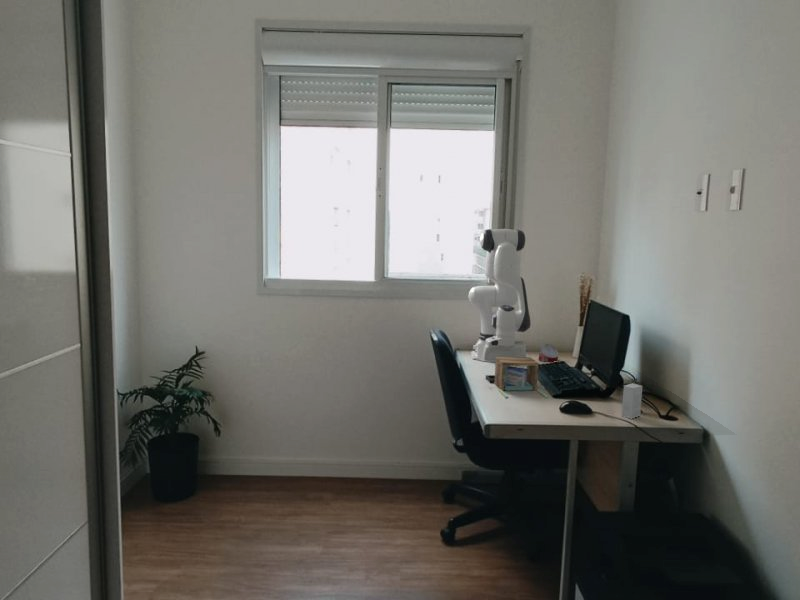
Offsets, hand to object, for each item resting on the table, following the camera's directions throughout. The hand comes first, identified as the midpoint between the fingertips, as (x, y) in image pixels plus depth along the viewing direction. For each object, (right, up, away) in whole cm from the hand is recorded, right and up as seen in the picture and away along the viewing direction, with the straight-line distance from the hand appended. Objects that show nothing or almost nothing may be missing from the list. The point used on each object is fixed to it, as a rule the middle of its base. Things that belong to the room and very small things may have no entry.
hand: (503, 369), depth 253 cm
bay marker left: (-5, -7, -28) cm, 29 cm away
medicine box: (+2, -6, -18) cm, 19 cm away
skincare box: (+38, -11, -51) cm, 64 cm away
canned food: (+30, 0, +34) cm, 46 cm away
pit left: (-6, -4, -7) cm, 10 cm away
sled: (+1, -5, -11) cm, 12 cm away
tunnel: (+2, -6, -17) cm, 18 cm away
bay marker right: (+11, -7, -26) cm, 29 cm away
